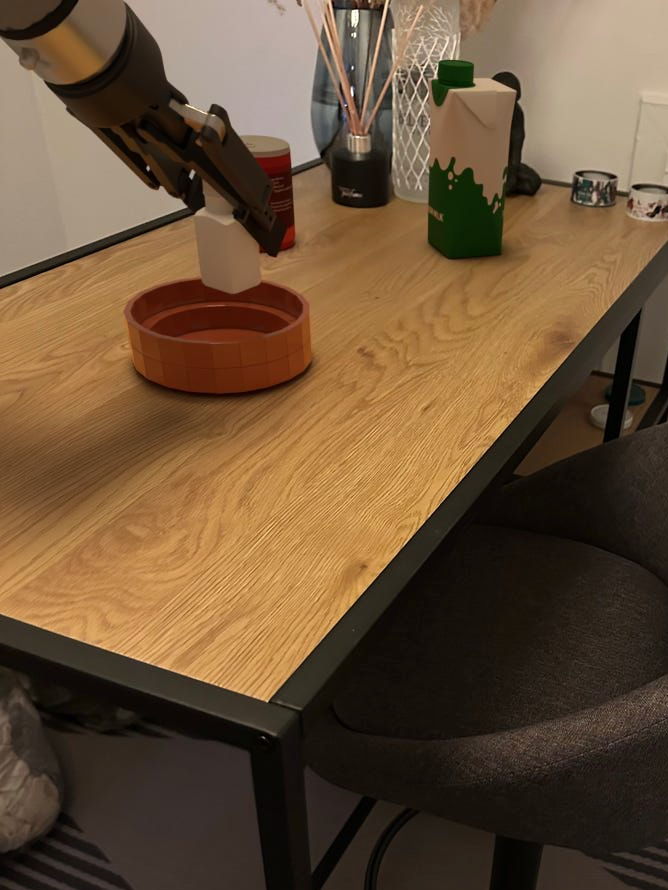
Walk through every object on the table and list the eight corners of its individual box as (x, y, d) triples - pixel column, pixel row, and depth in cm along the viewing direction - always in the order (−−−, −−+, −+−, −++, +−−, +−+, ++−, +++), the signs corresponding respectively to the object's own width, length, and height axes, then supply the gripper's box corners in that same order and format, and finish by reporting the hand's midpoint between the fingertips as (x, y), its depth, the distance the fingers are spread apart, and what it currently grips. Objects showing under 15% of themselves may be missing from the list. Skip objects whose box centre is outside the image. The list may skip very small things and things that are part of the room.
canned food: (227, 233, 116) (216, 134, 109) (292, 231, 118) (286, 134, 111) (231, 253, 110) (220, 151, 103) (299, 251, 112) (293, 151, 105)
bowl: (94, 370, 84) (83, 316, 81) (209, 314, 96) (203, 264, 93) (243, 415, 80) (237, 359, 76) (344, 350, 91) (343, 298, 88)
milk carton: (418, 239, 119) (421, 55, 106) (482, 234, 122) (494, 55, 109) (444, 262, 113) (451, 70, 100) (512, 256, 116) (527, 69, 103)
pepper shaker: (199, 286, 82) (184, 168, 76) (230, 274, 85) (219, 159, 79) (233, 297, 81) (222, 178, 74) (264, 285, 83) (255, 169, 77)
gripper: (-39, 71, 63) (161, 255, 86) (167, 113, 58) (322, 297, 81) (2, -29, 64) (191, 181, 86) (211, 4, 59) (353, 217, 81)
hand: (254, 236), depth 83 cm, fingers closed on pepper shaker, 4 cm apart
